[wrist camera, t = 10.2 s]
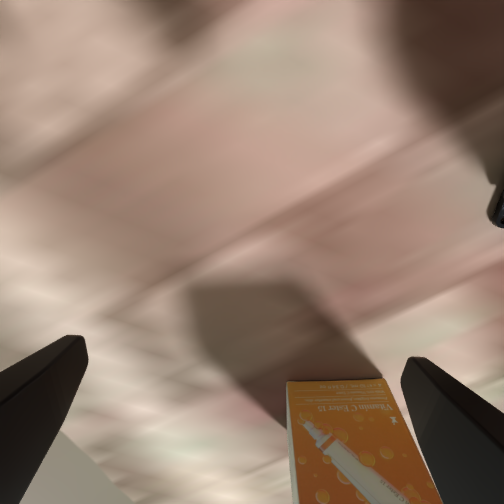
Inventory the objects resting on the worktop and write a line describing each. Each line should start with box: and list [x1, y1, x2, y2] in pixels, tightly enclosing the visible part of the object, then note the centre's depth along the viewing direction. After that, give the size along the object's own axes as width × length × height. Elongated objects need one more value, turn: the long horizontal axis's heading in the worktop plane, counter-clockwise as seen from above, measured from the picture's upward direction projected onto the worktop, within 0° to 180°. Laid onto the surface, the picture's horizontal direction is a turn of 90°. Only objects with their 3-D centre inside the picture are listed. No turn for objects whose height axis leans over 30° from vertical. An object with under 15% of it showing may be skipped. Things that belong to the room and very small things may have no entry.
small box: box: [286, 378, 443, 504], centre depth 21 cm, size 8×6×13 cm
